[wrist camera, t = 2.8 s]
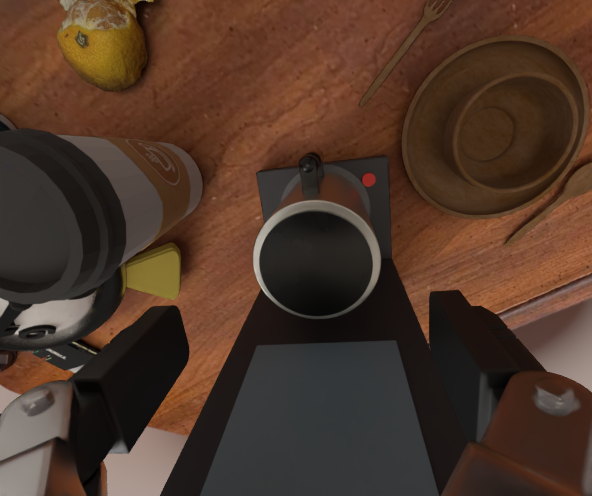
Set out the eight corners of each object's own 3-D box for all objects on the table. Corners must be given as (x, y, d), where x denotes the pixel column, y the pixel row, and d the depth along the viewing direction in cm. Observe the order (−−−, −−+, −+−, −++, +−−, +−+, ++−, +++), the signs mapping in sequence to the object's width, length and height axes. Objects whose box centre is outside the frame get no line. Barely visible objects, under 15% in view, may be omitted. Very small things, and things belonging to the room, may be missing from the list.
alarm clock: (154, 303, 37) (4, 420, 26) (65, 193, 34) (-145, 271, 23) (208, 276, 29) (27, 426, 18) (99, 130, 27) (-192, 204, 16)
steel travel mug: (278, 151, 25) (232, 167, 14) (359, 141, 24) (376, 149, 13) (291, 250, 27) (261, 326, 16) (366, 243, 26) (385, 321, 16)
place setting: (334, 125, 25) (333, 123, 20) (560, -177, 19) (654, -307, 13) (500, 262, 27) (541, 295, 22) (759, 32, 21) (913, -5, 15)
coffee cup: (236, 184, 28) (132, 239, 14) (175, 246, 30) (35, 345, 16) (162, 106, 26) (-39, 78, 12) (105, 177, 29) (-115, 221, 15)
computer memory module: (25, 310, 35) (18, 337, 36) (17, 315, 34) (10, 343, 35) (151, 374, 36) (140, 399, 37) (146, 381, 35) (135, 405, 36)
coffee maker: (260, 170, 27) (-118, 356, 5) (385, 155, 26) (727, 323, 3) (280, 300, 31) (127, 751, 8) (391, 294, 29) (564, 826, 7)
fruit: (158, -38, 23) (127, -68, 20) (171, 93, 26) (146, 87, 22) (50, -33, 24) (2, -60, 21) (74, 93, 27) (35, 87, 23)
